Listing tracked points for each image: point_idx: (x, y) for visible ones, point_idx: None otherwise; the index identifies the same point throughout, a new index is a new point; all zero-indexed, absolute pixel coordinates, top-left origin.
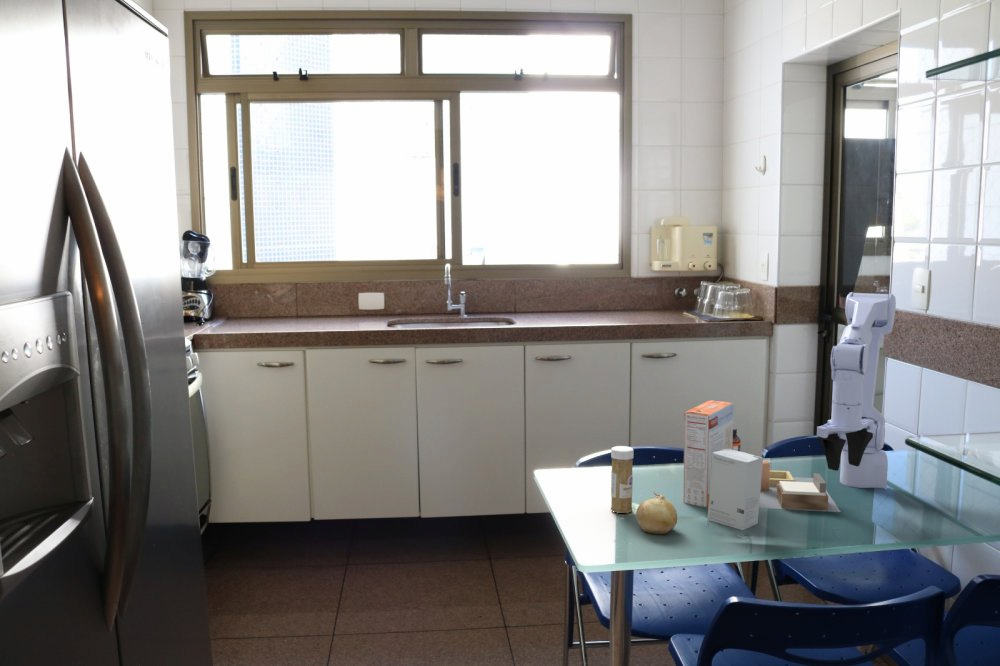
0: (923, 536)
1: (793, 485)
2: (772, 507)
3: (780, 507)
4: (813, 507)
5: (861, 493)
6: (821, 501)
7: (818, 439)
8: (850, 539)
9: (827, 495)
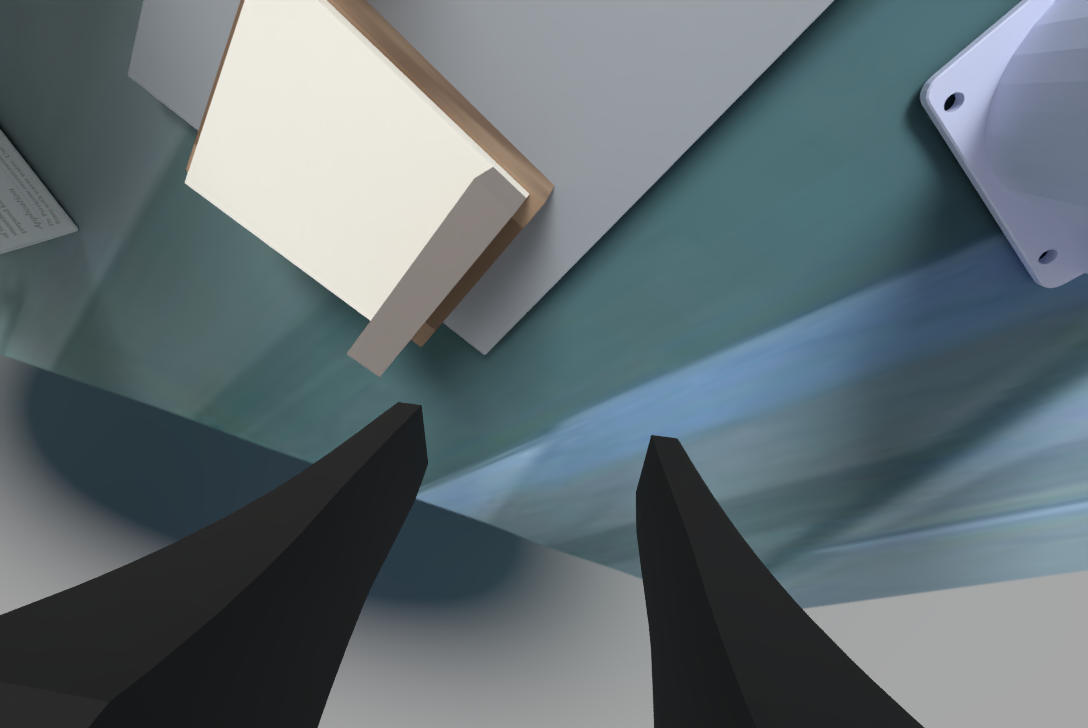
0: (572, 544)
1: (306, 131)
2: None
3: None
4: None
5: (968, 183)
6: None
7: (20, 610)
8: None
9: (427, 338)
